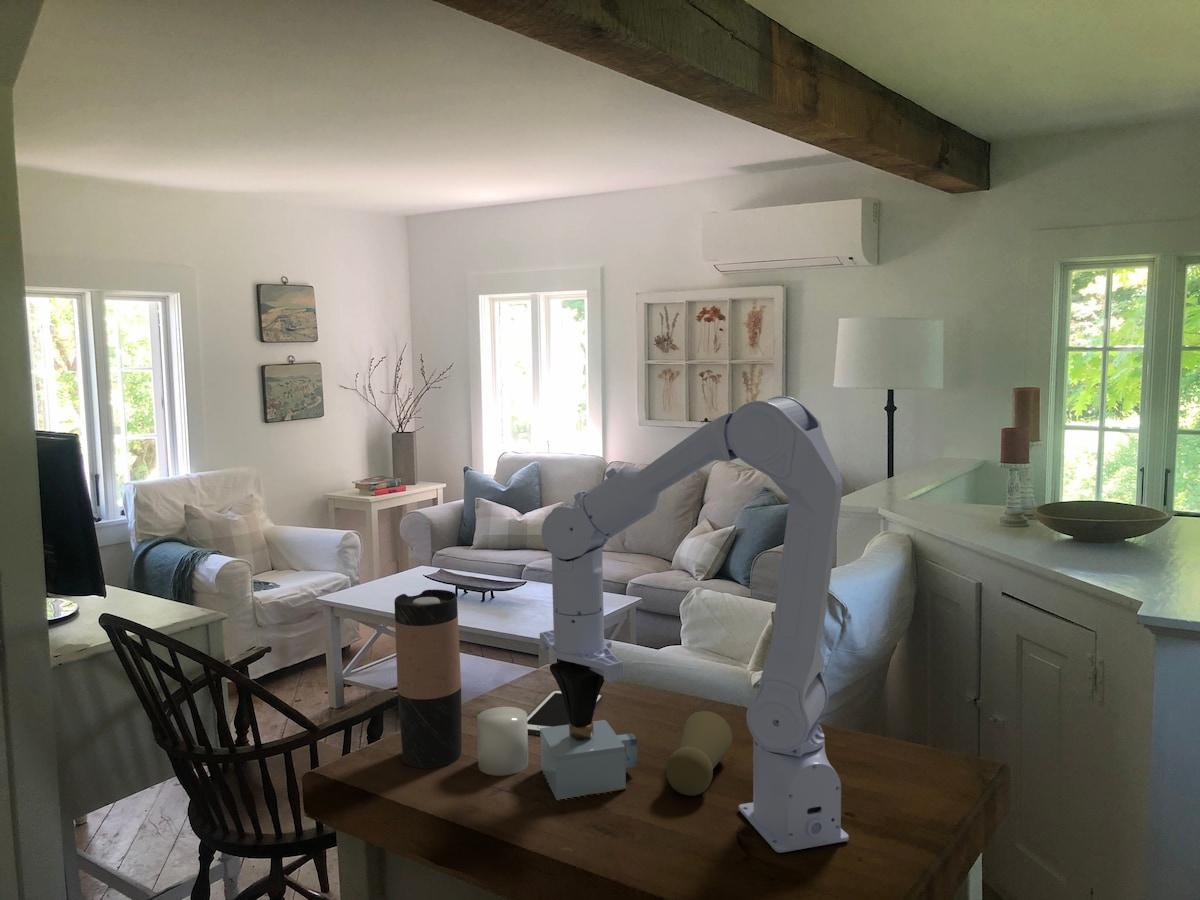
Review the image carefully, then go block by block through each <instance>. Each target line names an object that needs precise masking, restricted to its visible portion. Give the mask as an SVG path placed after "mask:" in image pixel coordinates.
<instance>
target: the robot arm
mask: <svg viewBox="0 0 1200 900" xmlns="http://www.w3.org/2000/svg"><path fill="white" fill-rule="evenodd" d="M821 423H822V422H821V421H820V420H819V419H818V418H817V417H816V416H815V415H814V413H812V412H811V411H810V410H809V408H807V407H806V406H805V405H804V404H803V403H802V402H801V401H799V400H798V399H796V398H793V397H791V396H787V395H786V396H785V395H780V396H779V395H777V396H774V397H771V398H767V399H765V400H753V401H749V402H747V403H744V404H743V405H741V406H740V407H738V408H737V409H736V410H735V411H731V412H728V413H726V414H722V415H721V416H719V417H717V418H715V419H712V421H709V422H707V423H706V424H704V425H702V426H701V427H700V428H699V429H697V430H696V431H694V432H693V433H691V434H690V435H689V436H687V437H686V438H684V439H683V440H682V441H680V442H679V443H677V444H676V445H675V446H673V447H671V448H670V449H669V450H667V451H666V452H665V453H664V454H663V453H662V454H661V456H659V457H657V458H656V459H655V460H654V461H652V462H650V463H649V464H648V465H646V466H645V467H644V468H639V467H635V466H632V465H631V466H630V465H626V466H623V467H622V468H621V467H620V466H615V467H612V468H610V469H609V470H607V471H605V477H606V479H604V480H602V481H601V482H600V483H598V484H597V485H595V486H594V487H592V488H591V489H590V490H588V491H586V490H580V491H578V492H577V493H575V494H574V496H573V498H574V499H575V500H574V503H571V504H567V505H562V506H556V507H554V508H553V509H552V510H551V512H549V513H548V514H547V516H546V517H545V518H544V520H543V522H542V524H541V525H542V526H541V538H542V542H543V544H544V546H545V548H546V550H548V552H549V553H550V554H551V579H552V580H551V582H552V584H551V585H552V589H551V590H552V619H553V620H552V622H553V629H552V630H547V631H542V632H540V633H539V649H541V650H543V651H547V650H549V652H550V653H551V654H552V656H553V657H554V658H555V659H558V660H559V662H555V663H552V664H550V665H549V671H550V673H551V675H552V676H553V678H554V680H555V681H556V683H557V685H558V689H560V690H561V693H562V696H563V699H564V703H565V706H566V710H567V714H568V717H569V721H570V724H571V725H573V726H574V727H576V728H578V727H582V726H585V725H589V724H591V722H592V721H593V717H594V713H595V710H596V709H595V705H596V701H597V698H598V695H599V693H601V689H602V687H603V685H604V682H607V683H611V682H616V681H619V680H622V679H624V661H623V660H620V659H619V658H617V657H616V656H615V655H614V653H613V652H612V651H611V648H612V646H613V645H612V641H611V640H609V639H606V638H605V625H604V624H605V623H604V621H605V619H604V618H605V617H604V615H605V614H604V613H605V612H604V610H605V609H604V583H603V582H604V580H603V579H604V577H603V576H604V575H603V574H604V573H603V571H604V570H603V569H604V568H603V549H604V546H605V545H606V544H607V543H608V541H609V540H610V539H612V538H613V537H615V536H616V535H618V534H619V533H621V532H622V531H625V530H626V529H627V528H629V527H630V526H632V525H633V524H635V523H637V522H639V521H640V520H642V519H643V518H645V517H647V516H648V515H650V514H652V513H653V512H654V511H655V510H656V508H657V505H658V501H659V497H660V493H662V492H663V491H666V489H669V488H670V487H672V486H674V485H676V484H677V483H679V482H680V481H682V480H684V479H686V478H688V477H689V476H691V475H693V474H694V473H696V472H698V471H699V470H701V469H703V468H704V467H706V466H708V465H709V464H711V463H713V462H714V461H719V462H731V461H734V460H736V459H740V461H742V462H744V463H745V464H747V465H748V466H750V467H752V468H753V469H755V470H757V471H759V472H761V473H762V474H764V475H765V476H767V477H769V478H770V479H771V481H773V483H774V484H775V485H776V486H777V487H778V488H779V489H780V490H781V491H782V493H783V494H784V495H785V496H786V497H787V498H788V507H787V515H786V523H785V530H784V540H783V547H782V554H781V560H780V561H781V563H780V571H779V577H778V585H777V592H776V594H777V595H776V601H775V610H774V616H773V624H772V632H771V638H770V640H771V641H770V647H769V652H768V656H767V658H766V661H765V663H764V666H763V668H762V669H763V670H762V672H761V675H760V681H759V686H758V689H757V692H756V694H755V696H754V697H753V698H752V699H751V701H750V702H749V704H748V706H747V710H746V715H745V717H746V724H747V727H748V730H749V732H750V734H751V736H752V738H753V739H752V741H753V742H752V750H753V751H752V752H753V753H752V761H753V762H752V765H753V766H752V770H753V771H752V773H753V774H752V775H753V776H752V777H753V779H752V782H753V785H752V786H753V787H752V788H753V790H752V791H753V792H752V793H753V794H752V795H753V797H752V800H753V801H752V802H747V803H746V802H745V803H741V804H739V805H738V810H739V811H740V813H741V814H742V816H744V817H745V818H746V819H747V821H748V822H749V823H750V824H751V825H752V826H753V827H754V829H755V830H756V831H757V832H758V833H759V834H760V836H762V838H763V839H764V840H765V841H766V842H767V843H768V844H769V846H771V848H772V850H774V852H776V853H778V854H781V853H787V852H793V851H798V850H804V849H808V848H815V847H821V846H822V847H823V846H825V845H826V846H827V845H832V844H837V843H843V842H848V841H849V839H850V835H849V834H848V833H847V832H846V831H844V829H842V821H841V820H842V784H841V779H840V776H839V774H838V773H837V771H836V770H835V768H834V767H833V766H832V764H830V762H829V760H828V757H827V754H826V747H825V746H826V745H825V741H826V740H825V734H824V732H823V731H824V730H823V728H822V726H821V724H820V722H819V717H820V716H821V715H822V714H823V713H824V712H825V710H826V708H827V706H828V703H829V690H828V686H827V683H826V681H825V678H824V664H825V660H824V656H823V654H822V651H821V648H822V642H823V634H824V627H825V626H824V625H825V619H826V613H827V605H828V600H829V599H828V597H829V591H830V583H831V575H832V569H833V562H834V554H835V547H836V540H837V532H838V524H839V519H840V517H839V516H840V510H841V503H842V494H843V489H844V486H843V478H842V475H841V473H840V471H839V468H838V465H837V463H836V461H835V459H834V457H833V455H832V452H831V450H830V447H829V446H828V443H827V441H826V439H825V437H824V436H825V435H824V432H823V429H822V424H821Z"/></svg>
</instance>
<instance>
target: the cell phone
mask: <svg viewBox="0 0 1200 900" xmlns="http://www.w3.org/2000/svg"><path fill="white" fill-rule="evenodd" d="M603 697H604V695H603V693H601V692H599V695H598V698H597V701H596V705H595V708H596V706H597V705H598V704H599V703H600V702H601V701H603V700H602V699H604V698H603ZM601 703H602V702H601ZM601 703H600V704H601ZM600 704H599V705H600ZM599 705H598V706H599ZM598 706H597V707H598ZM596 709H597V708H596ZM569 723H570V721H569V717H568V714H567V710H566V706H565V703H564V699H563V696H562V693H561V690H560V688H558V689H557V688H556V689H553V690H552V691H550V693H548V694H547V695H546V696H545V697H544V698H543V699H542V700H541V701H540V702H539V704H537V705H536V706H535V707H534V708H533V709H532V711H530V712H529V713H527V728H528V735H531V734H532V735H531V736H533V735H534V736H537V735H538V734H540V728H546V727H554V726H562V725H569Z"/></svg>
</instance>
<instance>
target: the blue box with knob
mask: <svg viewBox="0 0 1200 900" xmlns="http://www.w3.org/2000/svg"><path fill="white" fill-rule="evenodd" d="M592 722H593V729H594V734H593V736H591V737H589V738H585V739H584V740H578V739H576V738H572V737H571V736H570V735H569V725H562V726H554V727H546V728H540V735H539V736H540V738H539V739H540V767H541V769H540V770H541V772H542V771H543V772H542V774H543V776H544V775H545V776H544V778H545V777H546V778H545V780H546V779H547V780H546V782H547V784H548V783H549V784H548V787H549V788H551V789H550V790H552V791H551V792H553V793H552V794H554V795H553V796H555V797H554V799H555V798H556V799H555V800H556V802H557V800H558V801H560V800H559V799H565V800H568V799H567V798H571V799H573V798H572V797H578V798H580V797H579V796H582V795H586V794H591V793H598V792H605V791H610V790H614V789H621V788H626V789H627V784H626V782H627V781H626V780H627V779H626V778H627V777H626V775H627V774H626V773H627V772H626V769H630V768H631V769H632V768H637V767H638V738H637V736H635V735H634V733H633V732H632V733H631V732H630V733H624V734H618V735H617V734H616V732H615V731H614V729H613V728H612V727H611V725H610V724H609V722H607V720H606V719H601V720H595V721H593V720H592Z"/></svg>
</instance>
